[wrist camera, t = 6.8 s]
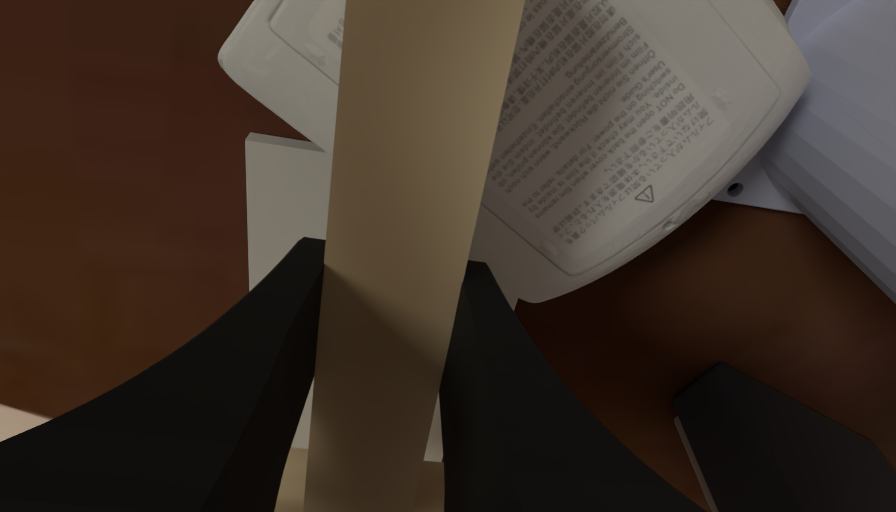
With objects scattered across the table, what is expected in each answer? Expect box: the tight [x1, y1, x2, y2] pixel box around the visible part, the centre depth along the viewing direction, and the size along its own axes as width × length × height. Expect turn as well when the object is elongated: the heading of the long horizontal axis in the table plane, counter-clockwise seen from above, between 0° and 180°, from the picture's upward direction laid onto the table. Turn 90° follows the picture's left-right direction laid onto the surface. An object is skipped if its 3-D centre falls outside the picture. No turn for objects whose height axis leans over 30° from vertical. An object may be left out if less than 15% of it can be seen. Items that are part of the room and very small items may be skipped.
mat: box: [245, 132, 518, 311], centre depth 22 cm, size 10×14×1 cm
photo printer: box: [218, 0, 811, 303], centre depth 15 cm, size 10×4×12 cm
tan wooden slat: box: [274, 0, 525, 512], centre depth 13 cm, size 6×16×4 cm, turn 170°
